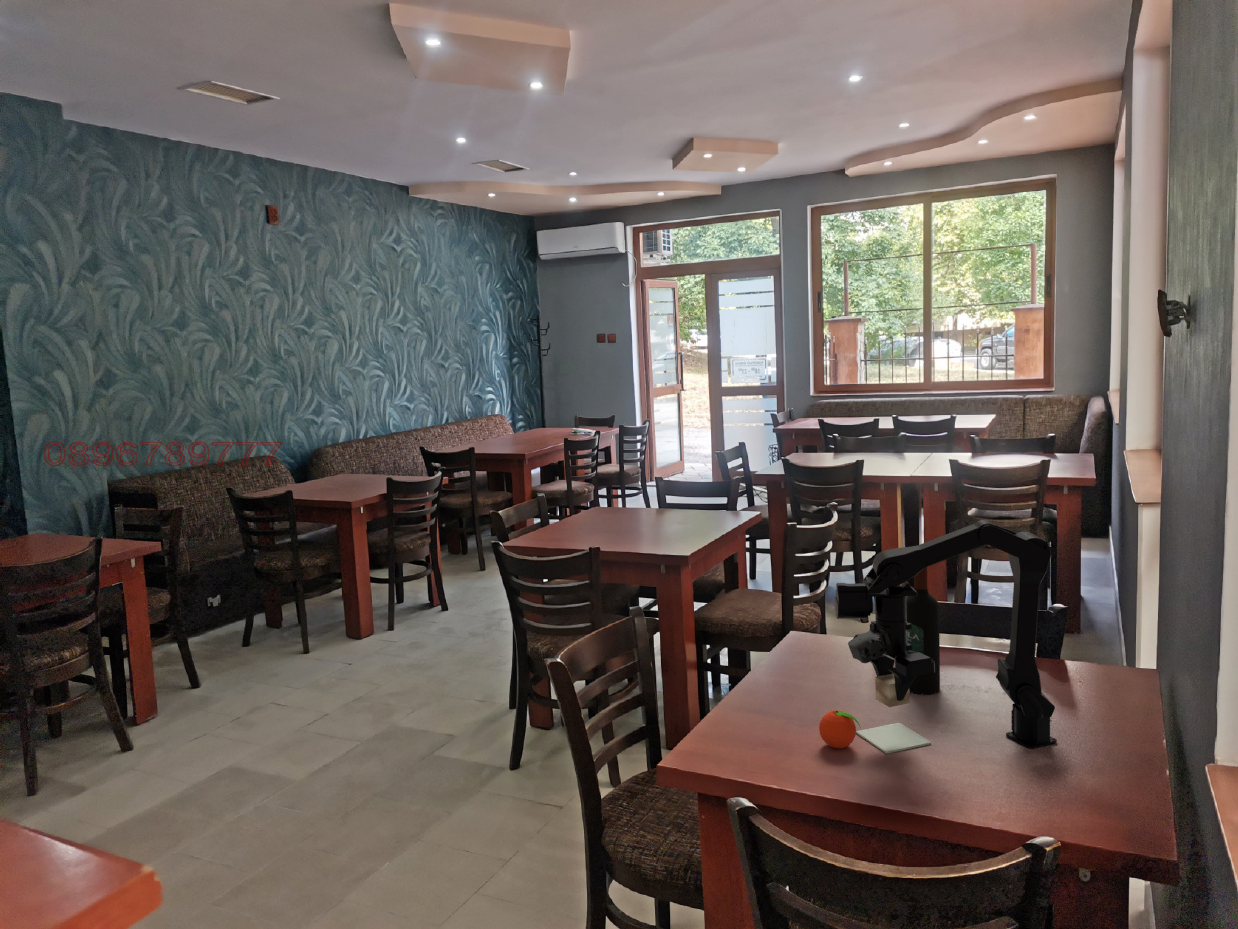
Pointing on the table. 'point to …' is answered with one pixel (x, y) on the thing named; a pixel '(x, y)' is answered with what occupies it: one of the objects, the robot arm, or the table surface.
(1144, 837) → the table surface
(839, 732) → the clementine
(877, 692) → the sandy foam cube
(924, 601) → the wine bottle
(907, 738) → the pad
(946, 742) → the table surface
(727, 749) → the table surface
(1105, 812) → the table surface
